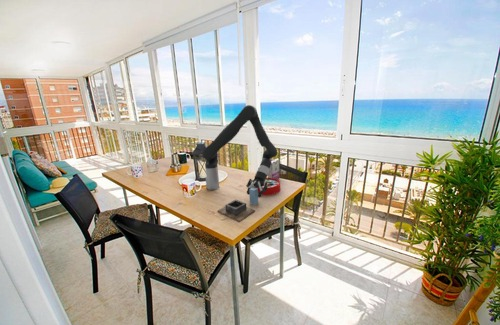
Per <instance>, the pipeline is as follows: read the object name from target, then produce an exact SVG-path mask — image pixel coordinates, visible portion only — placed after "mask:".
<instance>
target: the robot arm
mask: <svg viewBox="0 0 500 325" xmlns="http://www.w3.org/2000/svg"><path fill="white" fill-rule="evenodd" d="M248 122H250V124H251V125H252V127H253V130H254V133H255V136H256V139H257V140H258V142H259V144H260V146H261V147H262V148H265V150H263V152H262V156H261V157H262V158H261V162H260V164H259V167H258V168H257V170H256V171H255V172H256V173H255V176H254V179H252V178H249V179H248V180H247V181H248V182H247V183H246V186H245V187H246V188H247V190H246V194H247V195H249V189H251V188H252V187H258V188H260V191H259V194H258V199H259V198H261V197H262V193H263V192H266V191H267V187H268V183H267V182H266V183H265V180H266V178H268V173H269V169H270V166H271V161H272V160H271V159H272V158H275V157H277V155H278V149H277V147H276V146H275V145H274V143H273V142H271V140H270V138H269V136H268V134H267V132H266V130H265V129H264V126H263V125H262V122H261V120H260V117H259V114H258V111H257V108H256V107H255V106H254V105H250V104H248V105H245V106H243V108H242V109H241V110H240V112H239V113H238V114H237V116H236V117H235V118H234V119H233V120H231V121H230V123H229V124H227V125H226V126H225V127H224V128H223V130H221V131H220V132H219V134H218V135H217V136H216V137H215V139H214V140H213V141H212V142H211V143H210V144H208V145H207V146H206V147H205V148H204V149H203V150H202V153H201V154H202V157H203V159H205V163H204V164H205V165H204V166H205V167H204V168H205V186H206V189H207V190H210V191H211V190H212V191H215V190H218V189H219V188H220V180H219V179H220V178H219V168H218V164H219V161H218V159H219V156H218V151H220V150H221V149H222V148H223V147H224V146H226V145H227V144H228V143H230V142H231V141H232V140H233V139H234V138H235V137H236V136H237V135H238V133H239V132H240V131H241V129H242V127H243V126H245V124H246V123H248ZM263 185H264V188H263V187H262V186H263ZM249 196H250V195H249Z"/></svg>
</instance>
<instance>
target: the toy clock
mask: <svg viewBox="0 0 500 325" xmlns="http://www.w3.org/2000/svg"><path fill="white" fill-rule="evenodd" d="M266 182H267V183H268V187H267V191H266V192H263V193H262V195H263V196H271V195H272V196H273V195H276V194H278V193H279V192H280V191H281V181H280V180H279V179H274V178H268V177H267V178H266V180H265V183H266ZM262 187H263V188H264V185H263V186H262ZM254 188H258V187H254ZM259 191H260V188H258V194H259Z"/></svg>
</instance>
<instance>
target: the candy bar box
mask: <svg viewBox="0 0 500 325" xmlns="http://www.w3.org/2000/svg"><path fill="white" fill-rule="evenodd" d="M270 161H271V166H270V169H269V173H268V175H267V178H274V179H277V178H278V179H280V159H277V158H276V159H275V158H274V159H272V160H270ZM278 179H277V180H278Z"/></svg>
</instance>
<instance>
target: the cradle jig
mask: <svg viewBox="0 0 500 325" xmlns="http://www.w3.org/2000/svg"><path fill="white" fill-rule="evenodd" d="M255 212H256V210H255V209H254V208H252V207H248V206H247V203H246V202H243V201H241V200H239V199H234V200H232V201H230V202H228V203H226V204H225V205H224V206H223V207H221V208H219V209H218V210H217V213H219V214H222V215H223V216H225V217H227V218H230V219H231V220H232V219H233V220H234V221H236V222H238V223H240V222H241V221H243V220H245V219H246V218H247V217H249V216H251V215H253V213H255Z"/></svg>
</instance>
